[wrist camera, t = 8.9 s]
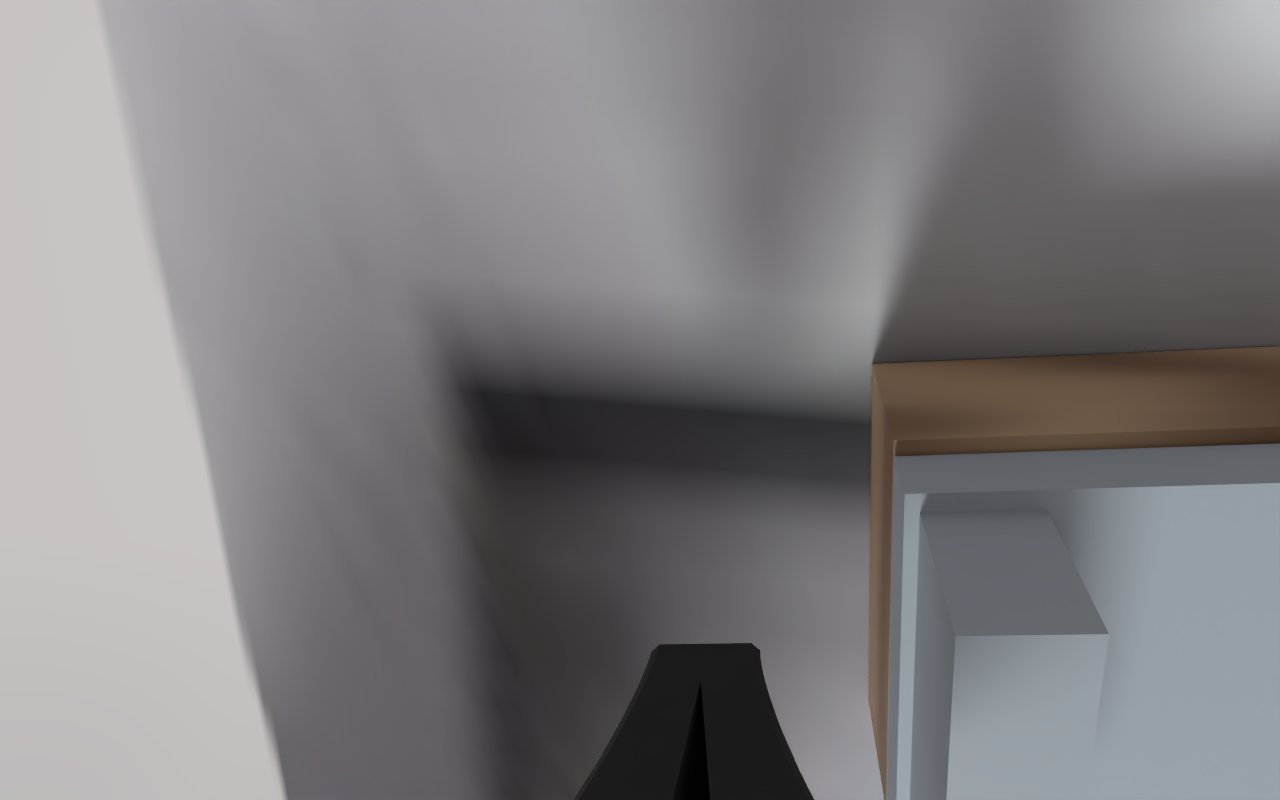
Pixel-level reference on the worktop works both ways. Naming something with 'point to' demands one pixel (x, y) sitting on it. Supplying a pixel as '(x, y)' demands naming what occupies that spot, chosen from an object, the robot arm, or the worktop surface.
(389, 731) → the worktop surface
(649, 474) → the worktop surface
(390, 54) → the worktop surface
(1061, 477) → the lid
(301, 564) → the worktop surface
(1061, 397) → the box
